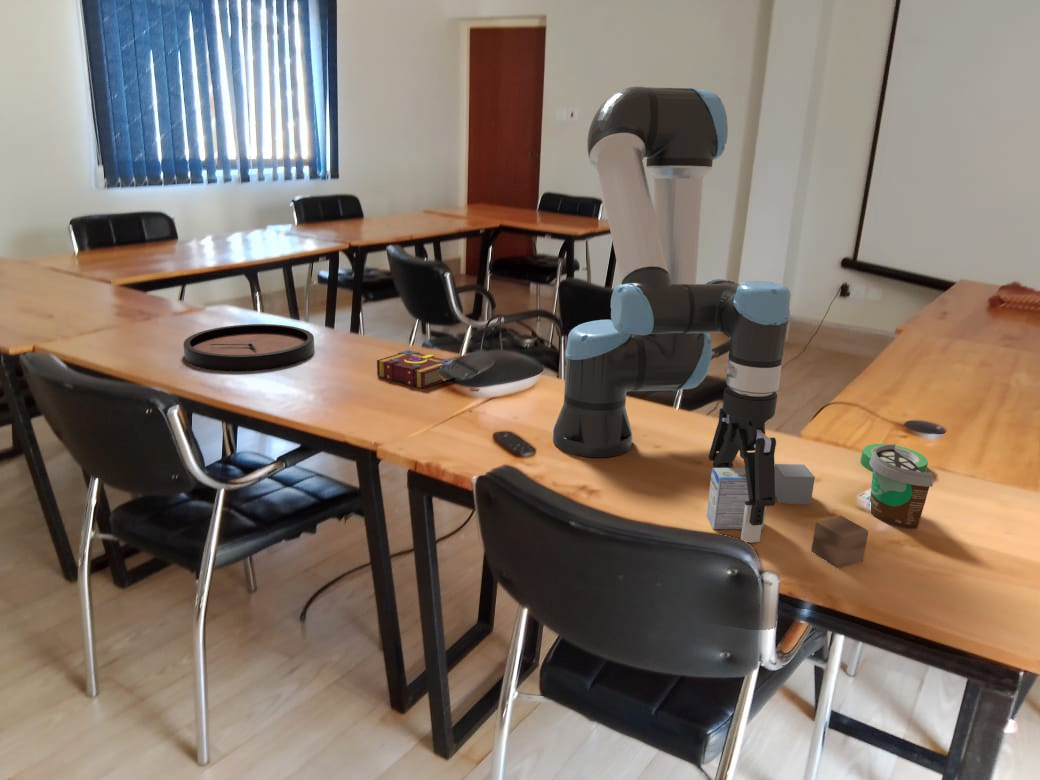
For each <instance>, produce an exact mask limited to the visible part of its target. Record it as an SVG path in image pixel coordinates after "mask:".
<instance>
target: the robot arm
mask: <svg viewBox="0 0 1040 780" xmlns="http://www.w3.org/2000/svg"><path fill="white" fill-rule="evenodd" d="M728 123H729V122H728V116H727V111H726V108H725V105H724V103H723V101H722V99H721V98H720V96H719V95H717V94H716V93H715V92H714V91H712V90H706V89H699V88H694V87H692V88H691V87H689V88H683V87H682V88H680V87H678V88H677V87H648V86H647V87H646V86H631V87H627V88H623V89H621V90H618V91H617V92H615V93H614V94H612V95H611V96H609V98H608V99H606V100H605V101H604V102H603V103H602V105H600V107H599V108H598V110H597V111H596V113H595V114H594V116H593V119H592V120H591V123H590V127H589V129H588V132H587V146H586V148H587V153H588V154H587V155H588V159H589V164H590V166H591V168H592V169H593V170H594V171H595V172H596V173H597V174H598V179H599V182H600V183H599V184H600V187H601V192H602V196H603V201H604V203H603V204H604V207H605V211H606V217H607V221H608V225H609V227H608V228H609V231H610V235H611V240H612V246H613V251H614V255H615V259H616V264H617V269H618V274H619V275H618V276H619V278H620V284H618V285H617V286H616V287H614V289H613V291H612V294H611V298H610V309H611V310H610V319H599V320H597V319H596V320H591V321H587V322H583V323H580V324H578V325H577V326H575V327H573V328H572V329H571V330H569V331H570V332H569V333H568V336H567V341H566V342H567V343H566V349H565V352H564V353H565V373H564V377H565V378H564V396H563V404H562V406H561V410H560V412H559V414H558V417H557V419H556V422H555V425H554V427H553V431H552V432H553V436H552V441H553V442H552V443H553V445H555V446H556V448H558V449H559V450H561V451H563V452H565V453H568V454H572V455H575V456H580V457H587V458H609V457H616V456H619V455H622V454H625V453H627V452H628V451H630V450H631V448H632V445H633V444H632V443H633V442H632V441H633V432H632V428H631V423H630V419H629V416H628V413H627V408H626V402H627V401H626V399H627V393H628V392H646V391H652V392H653V391H671V392H678V391H680V390H691V389H694V388H697V387H698V386H699V385H701V384H702V383H703V381H704V380H705V379H706V376H707V374H708V373H709V369H710V365H711V362H712V354H713V346H712V344H711V343H712V342H711V341H712V338H711V335H710V334H723V335H724V336H727V337H728V338H729V350H728V351H729V352H728V359H727V360H728V361H727V367H726V368H725V373H726V376H725V377H726V378H725V383H726V387H725V388H724V391H723V399H722V407H721V408H720V409H719V412H718V414H719V415H718V423H717V426H716V429H715V433H714V434H713V435H714V437H713V439H712V443H711V446H710V450H709V453H708V460H709V461H712V468H735V466H734V463H733V462H734V460H735V459H736V457H737V455H738V453H739V456H740V458H741V459H742V460H743V463H744V464H743V465H744V468H745V472H746V480H747V488H748V495H749V501H745V509H744V517H743V524H742V529H741V531H740V532H741V533H740V539H743V540H746V541H748V542H749V543H760V541H761V533H762V529H761V527H762V522H763V515H764V508H765V506H766V507H773V506H775V504H776V496H775V453H776V446H777V440H776V438H775V437H768V436H767V435H766V427H765V426H766V422H768V421H769V420H770V419H771V420H772V419H773V417H774V416H775V413H776V410H777V409H776V408H777V400H778V394H777V391H778V390H779V389H780V387H779V386H780V381H781V373H782V367H783V365H782V364H783V357H784V350H785V343H786V340H787V339H786V338H787V332H788V326H789V319H790V317H791V310H790V304H791V303H790V302H791V292H790V291H791V290H790V289H789V288H788V286H786V285H784V284H781V283H776V282H773V281H766V280H747V281H743V282H741V283H737V282H735V281H732V280H726V279H722V278H721V279H720V278H718V279H713V280H710V281H708V282H706V283H703V284H701V283H697V271H698V270H697V269H698V256H699V255H698V254H699V242H700V241H699V240H700V227H701V226H700V224H701V223H700V222H701V209H702V194H703V181H704V180H703V179H704V178H705V176H707V175H708V174H709V173H710V171H712V169H713V161H714V160H716V159H719V158H720V157H721V156H722V155H723V153H724V152H725V148H726V146H725V145H727V141H728V134H729V126H728ZM644 158H646V167H645V166H644V162H643V160H644ZM645 168H646V170H647V171H648V172H649V173H650V174H651V175H652V177H653V195H652V196H653V197H652V196H651V192H650V188H649V183H648V179H647V175H646V171H645ZM749 543H748V544H749Z"/></svg>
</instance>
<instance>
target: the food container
mask: <svg viewBox="0 0 1040 780" xmlns="http://www.w3.org/2000/svg"><path fill="white" fill-rule="evenodd" d="M895 445H896V446H897V444H893V443H891V444H890V445H883V446H880V447H878V448H877V449H876V451H875V452H874V453H873V455H872V457H871V459H870V462H869V464H870V466H871V468H872V469H873V472H872V475H871V487H870V488H871V489H870V497H869V503H870V502H871V513H870V514H871V515H872V516H873V517H874V518H876V519H877V520H879V521H881V522H883V523H885V524H889V525H891V526H895V527H897V528H902V529H903V528H904V529H910V530H911V529H913V530H914V529H915V530H917V529H918V527H919V524H920V521H921V517H922V514H923V512H924V511H923V510H924V507H925V503H926V500H927V496H928V493H929V490H930V488H933V486H934V485H933V484H934V477H933V476H934V473H933V472H927V471H926V472H922V471H921V470H920V469H919V468H918V467H917V466H916V465H915V464H914V463H913V462H912V461H911V460H909V459H907V458H905V457H903V456H902V455H900V454H899V453H898V452H896V451H895Z"/></svg>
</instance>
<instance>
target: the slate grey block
mask: <svg viewBox="0 0 1040 780" xmlns="http://www.w3.org/2000/svg"><path fill="white" fill-rule="evenodd" d="M774 466H775V499H776V500H779V501H778V502H779V504H780V503H789V504H790V503H791V504H792V505H812V504H811V503H812V498H813V497H812V496H813V491H814V487H815V486H814V485H815V479H816V476H815V475H814V474H813V473H812V471H811V470H810V469H809V468H808V467H807V466H806V465H805V464H797V463H795V464H793V463H792V464H791V463H790V464H789V463H788V464H787V463H774ZM789 504H788V505H789ZM791 504H790V505H791Z"/></svg>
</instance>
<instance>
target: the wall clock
mask: <svg viewBox="0 0 1040 780" xmlns="http://www.w3.org/2000/svg"><path fill="white" fill-rule="evenodd" d="M315 351H316V350H315V337H314V334H313V333H312V332H310V331H309V330H306V329H304V328H300V327H297V326H293V325H292V326H291V325H284V324H272V323H271V324H270V323H269V324H268V323H257V324H256V323H253V324H252V323H251V324H250V323H249V324H238V325H237V324H236V325H227V326H221V327H216V328H211V329H206V330H203V331H199V332H195V333H194V334H192V335H190V336H188V337H187V338H186V339H185V340H184V342H183V352H184V354H183V355H184V359H186V360H185V361H186V363H188V364H189V363H190V364H189V365H191V364H192V365H191V366H193V365H194V366H193V367H195V366H197V367H196V368H199V367H200V369H203V368H204V370H207V371H208V370H209V371H218V372H228V373H229V372H230V373H231V372H234V373H235V372H239V373H241V372H242V373H243V372H259V371H268V370H274V369H281V368H284V367H289V366H293V365H296V364H298V363H299V364H300V363H302V362H304V361H306V360H308V359H310V358H311V357H313V356H314V354H315Z"/></svg>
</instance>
